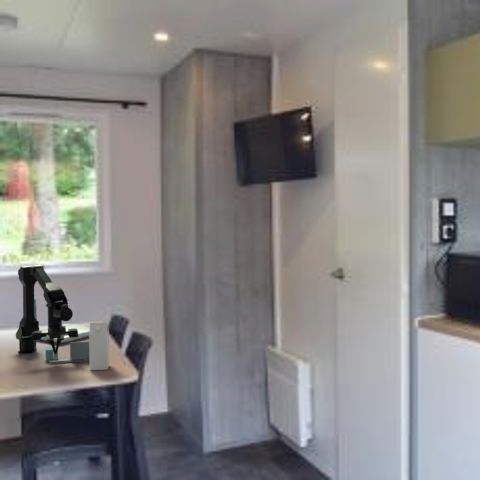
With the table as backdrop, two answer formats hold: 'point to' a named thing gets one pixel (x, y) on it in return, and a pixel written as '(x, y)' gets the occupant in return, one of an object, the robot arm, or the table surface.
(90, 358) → the milk carton
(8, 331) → the table surface
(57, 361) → the rail
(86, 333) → the square plate
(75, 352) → the screen
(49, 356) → the cube
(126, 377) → the table surface
